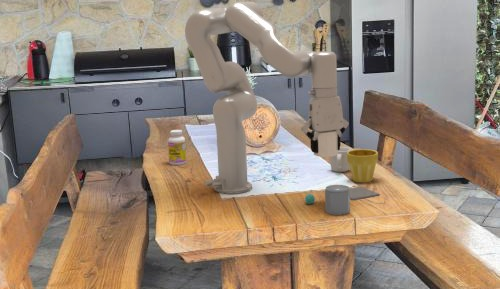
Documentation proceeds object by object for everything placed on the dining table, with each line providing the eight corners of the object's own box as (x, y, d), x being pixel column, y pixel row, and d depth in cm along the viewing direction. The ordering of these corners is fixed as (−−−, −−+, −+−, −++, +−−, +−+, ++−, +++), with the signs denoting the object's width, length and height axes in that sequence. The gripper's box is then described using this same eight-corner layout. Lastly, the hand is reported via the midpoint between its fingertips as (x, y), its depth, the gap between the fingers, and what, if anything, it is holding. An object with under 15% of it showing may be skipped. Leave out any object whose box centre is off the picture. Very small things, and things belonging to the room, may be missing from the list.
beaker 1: (321, 157, 217) (320, 134, 216) (310, 153, 223) (310, 130, 222) (341, 154, 220) (340, 131, 218) (329, 150, 226) (329, 128, 225)
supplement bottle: (166, 164, 278) (164, 132, 276) (174, 160, 284) (172, 128, 281) (181, 165, 276) (179, 132, 273) (189, 161, 282) (187, 129, 279)
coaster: (352, 200, 224) (352, 198, 224) (335, 192, 233) (335, 191, 233) (379, 195, 228) (379, 193, 228) (361, 188, 237) (361, 186, 237)
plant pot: (359, 185, 240) (358, 157, 238) (341, 179, 249) (340, 151, 247) (384, 181, 245) (384, 153, 243) (365, 174, 254) (365, 147, 252)
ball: (308, 205, 220) (308, 196, 220) (303, 203, 223) (303, 193, 222) (316, 204, 222) (316, 194, 221) (311, 201, 224) (311, 192, 224)
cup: (350, 175, 253) (350, 153, 252) (327, 175, 255) (327, 153, 253) (352, 168, 264) (352, 146, 262) (330, 167, 265) (330, 146, 264)
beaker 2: (334, 216, 209) (333, 192, 208) (321, 210, 215) (321, 186, 214) (353, 212, 212) (353, 188, 211) (341, 206, 218) (340, 183, 217)
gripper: (304, 97, 211) (306, 156, 215) (355, 91, 218) (356, 149, 222) (293, 94, 218) (294, 152, 222) (342, 89, 225) (343, 145, 228)
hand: (325, 150), depth 221 cm, fingers closed on beaker 1, 6 cm apart
